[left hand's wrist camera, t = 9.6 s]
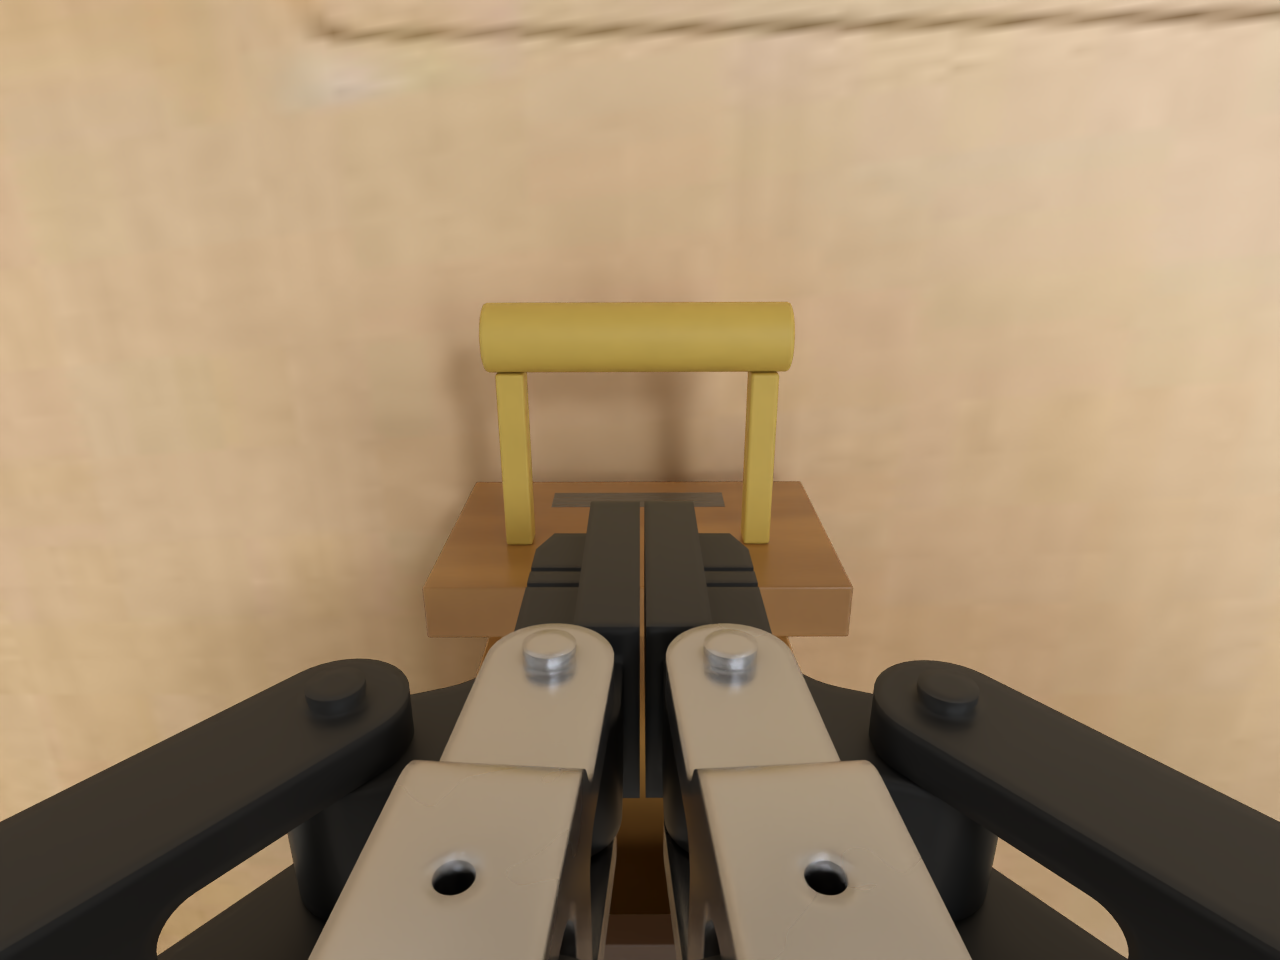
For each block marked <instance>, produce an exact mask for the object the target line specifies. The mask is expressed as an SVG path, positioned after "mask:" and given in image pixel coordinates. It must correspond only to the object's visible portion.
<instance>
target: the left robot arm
mask: <svg viewBox="0 0 1280 960" xmlns="http://www.w3.org/2000/svg"><path fill="white" fill-rule="evenodd" d="M644 680H645V795H646V798H663V810H664V841H663V856H664V865H665V873H666V881H667V888H668V896H669V904H670V912H671V920H672V927H673V935H674V943H675V951H676V958H677V960H1280V822H1279V821H1277V820H1275V819H1273V818H1271V817H1269V816H1267V815H1265V814H1263V813H1261V812H1258V811H1256V810H1254V809H1252V808H1250V807H1248V806H1246V805H1244V804H1242V803H1240V802H1238V801H1236V800H1234V799H1232V798H1230V797H1228V796H1226V795H1224V794H1222V793H1220V792H1218V791H1216V790H1214V789H1212V788H1210V787H1208V786H1206V785H1204V784H1202V783H1200V782H1198V781H1196V780H1194V779H1192V778H1190V777H1188V776H1186V775H1184V774H1182V773H1180V772H1178V771H1176V770H1174V769H1172V768H1170V767H1168V766H1166V765H1164V764H1162V763H1160V762H1158V761H1156V760H1154V759H1152V758H1150V757H1148V756H1146V755H1144V754H1142V753H1140V752H1138V751H1136V750H1134V749H1132V748H1130V747H1128V746H1126V745H1124V744H1122V743H1120V742H1118V741H1116V740H1114V739H1112V738H1110V737H1108V736H1106V735H1104V734H1102V733H1100V732H1098V731H1096V730H1094V729H1092V728H1090V727H1088V726H1086V725H1084V724H1082V723H1080V722H1078V721H1076V720H1074V719H1072V718H1070V717H1068V716H1066V715H1064V714H1062V713H1060V712H1058V711H1056V710H1054V709H1052V708H1050V707H1048V706H1046V705H1044V704H1042V703H1040V702H1038V701H1036V700H1034V699H1032V698H1030V697H1028V696H1026V695H1024V694H1022V693H1020V692H1018V691H1016V690H1014V689H1012V688H1010V687H1008V686H1006V685H1004V684H1002V683H1000V682H998V681H996V680H994V679H992V678H990V677H988V676H986V675H984V674H981V673H979V672H977V671H975V670H972V669H969V668H966V667H963V666H960V665H956V664H952V663H947V662H940V661H929V660H920V661H909V662H903V663H900V664H896V665H894V666H891V667H889V668H887V669H886V670H885V671H883V672H882V673H881V674H880V675H879V676H878V678H877V679H876V682H875V684H874V692H873V694H870V693H865V692H861V691H856V690H851V689H846V688H841V687H837V686H832V685H828V684H825V683H822V682H820V681H817V680H814V679H812V678H810V677H808V676H806V675H804V674H802V673H801V670H800V668H799V666H798V664H797V661H796V659H795V657H794V655H793V653H792V651H791V650H790V648H789V647H788V646H787V645H786V644H785V643H784V642H783V641H782V640H780V639H779V638H778V637H776V636H774V635H772V632H771V628H770V625H769V621H768V618H767V614H766V610H765V607H764V603H763V599H762V596H761V592H760V589H759V587H758V581H757V578H756V574H755V571H754V567H753V563H752V560H751V556H750V553H749V549H748V548H747V547H745V546H744V545H743V544H742V543H741V542H740V541H738V540H737V539H736V538H735V537H734V536H732V535H731V534H730V533H698V528H697V521H696V515H695V508H694V502H693V501H644ZM623 798H640V501H591V504H590V511H589V518H588V525H587V532H586V533H554V534H553V535H552V536H551V537H550V538H549V539H547V540H546V541H545V542H544V543H543V544H541V545H540V546H539V547H538V548H537V549H536V551H535V555H534V558H533V562H532V566H531V571H530V573H529V577H528V581H527V587H526V589H525V592H524V596H523V600H522V604H521V607H520V611H519V615H518V619H517V622H516V626H515V630H514V632H512V633H510V634H508V635H506V636H504V637H502V638H501V639H500V640H498V641H497V642H496V643H495V644H494V645H493V646H492V647H491V648H490V650H489V651H488V653H487V655H486V657H485V659H484V661H483V664H482V666H481V668H480V670H479V673H478V675H477V677H476V678H474V679H472V680H470V681H467V682H464V683H461V684H458V685H455V686H451V687H447V688H442V689H437V690H432V691H427V692H422V693H417V694H412V695H410V690H409V682H408V680H407V678H406V676H405V675H404V673H403V672H402V671H401V670H399V669H398V668H397V667H395V666H393V665H391V664H389V663H386V662H382V661H378V660H371V659H346V660H339V661H333V662H329V663H325V664H321V665H318V666H315V667H312V668H310V669H307V670H305V671H303V672H300V673H298V674H296V675H294V676H292V677H290V678H288V679H286V680H284V681H282V682H280V683H278V684H276V685H274V686H272V687H270V688H268V689H266V690H264V691H262V692H260V693H258V694H256V695H254V696H252V697H250V698H248V699H246V700H244V701H242V702H240V703H238V704H236V705H234V706H232V707H230V708H228V709H226V710H224V711H222V712H220V713H218V714H216V715H214V716H212V717H210V718H208V719H206V720H204V721H202V722H200V723H198V724H196V725H194V726H192V727H190V728H188V729H186V730H184V731H182V732H180V733H178V734H176V735H174V736H172V737H170V738H168V739H166V740H164V741H162V742H160V743H158V744H156V745H154V746H152V747H150V748H148V749H146V750H144V751H142V752H140V753H138V754H136V755H134V756H132V757H130V758H128V759H126V760H124V761H122V762H120V763H118V764H116V765H114V766H112V767H110V768H108V769H106V770H104V771H102V772H100V773H98V774H96V775H94V776H92V777H90V778H88V779H86V780H84V781H82V782H80V783H78V784H76V785H74V786H72V787H70V788H68V789H66V790H64V791H62V792H60V793H58V794H56V795H54V796H52V797H50V798H48V799H46V800H44V801H42V802H40V803H38V804H36V805H34V806H32V807H30V808H28V809H26V810H24V811H22V812H20V813H18V814H16V815H14V816H12V817H9V818H7V819H5V820H3V821H1V822H0V960H603V958H604V951H605V943H606V935H607V927H608V920H609V912H610V904H611V896H612V888H613V881H614V873H615V865H616V856H617V841H616V835H617V833H618V831H619V828H620V826H621V821H622V803H623ZM287 833H288V838H289V843H290V848H291V853H292V858H293V863H294V864H292V865H291V866H289V867H288V868H286V869H285V870H283V871H282V872H280V873H279V874H277V875H276V876H274V877H273V878H272V879H270V880H269V881H267V882H266V883H264V884H263V885H261V886H260V887H258V888H257V889H255V890H254V891H252V892H251V893H249V894H248V895H246V896H245V897H244V898H242V899H241V900H239V901H238V902H236V903H235V904H233V905H232V906H230V907H229V908H227V909H226V910H224V911H223V912H221V913H220V914H219V915H217V916H216V917H214V918H213V919H211V920H210V921H208V922H207V923H205V924H204V925H202V926H201V927H199V928H198V929H196V930H195V931H194V932H192V933H191V934H189V935H188V936H186V937H185V938H183V939H182V940H180V941H179V942H177V943H176V944H174V945H173V946H171V947H170V948H168V949H167V950H166V951H164V952H163V953H161V954H159V955H158V956H157V953H156V949H157V942H158V938H159V935H160V933H161V930H162V928H163V926H164V925H165V923H166V921H167V920H168V918H169V917H170V916H171V914H172V913H173V912H174V911H175V910H176V909H177V908H178V906H179V905H180V904H182V903H183V902H184V901H185V900H186V899H187V898H189V897H190V896H191V895H193V894H194V893H195V892H197V891H199V890H200V889H202V888H203V887H205V886H206V885H208V884H209V883H211V882H213V881H214V880H216V879H217V878H219V877H220V876H222V875H223V874H225V873H226V872H228V871H230V870H231V869H233V868H234V867H236V866H237V865H239V864H240V863H242V862H243V861H245V860H247V859H248V858H250V857H251V856H253V855H254V854H256V853H257V852H259V851H260V850H262V849H264V848H265V847H267V846H268V845H270V844H271V843H273V842H274V841H276V840H277V839H279V838H281V837H282V836H284V835H285V834H287ZM998 837H999V838H1001V839H1003V840H1004V841H1006V842H1007V843H1009V844H1010V845H1012V846H1013V847H1015V848H1016V849H1018V850H1020V851H1021V852H1023V853H1024V854H1026V855H1027V856H1029V857H1030V858H1032V859H1033V860H1035V861H1037V862H1038V863H1040V864H1041V865H1043V866H1044V867H1046V868H1047V869H1049V870H1051V871H1052V872H1054V873H1055V874H1057V875H1058V876H1060V877H1061V878H1063V879H1064V880H1066V881H1068V882H1069V883H1071V884H1072V885H1074V886H1075V887H1077V888H1078V889H1080V890H1081V891H1083V892H1085V893H1086V894H1088V895H1089V896H1091V897H1092V898H1093V899H1095V900H1096V901H1098V902H1099V903H1100V904H1101V905H1102V906H1103V907H1104V908H1105V909H1106V910H1107V911H1108V912H1109V913H1110V914H1111V915H1112V916H1113V918H1114V919H1115V920H1116V922H1117V923H1118V924H1119V926H1120V928H1121V930H1122V931H1123V933H1124V936H1125V938H1126V941H1127V945H1128V950H1129V957H1128V959H1127V958H1125V957H1124V956H1122V955H1120V954H1119V953H1117V952H1116V951H1114V950H1113V949H1112V948H1110V947H1109V946H1107V945H1106V944H1104V943H1103V942H1101V941H1100V940H1098V939H1097V938H1095V937H1094V936H1092V935H1091V934H1089V933H1088V932H1087V931H1085V930H1084V929H1082V928H1081V927H1079V926H1078V925H1076V924H1075V923H1073V922H1072V921H1070V920H1069V919H1067V918H1066V917H1064V916H1063V915H1061V914H1060V913H1059V912H1057V911H1056V910H1054V909H1053V908H1051V907H1050V906H1048V905H1047V904H1045V903H1044V902H1042V901H1041V900H1039V899H1038V898H1036V897H1035V896H1034V895H1032V894H1031V893H1029V892H1028V891H1026V890H1025V889H1023V888H1022V887H1020V886H1019V885H1017V884H1016V883H1014V882H1013V881H1011V880H1010V879H1008V878H1007V877H1006V876H1004V875H1003V874H1001V873H1000V872H998V871H997V870H995V869H994V868H992V865H993V860H994V855H995V850H996V845H997V840H998Z"/></svg>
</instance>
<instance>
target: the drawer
mask: <svg viewBox="0 0 1280 960" xmlns="http://www.w3.org/2000/svg"><path fill="white" fill-rule="evenodd" d="M794 342H795V322H794V313H793V309H792V306H791V304H790V303H788V302H614V303H486V304H484V305H483V307H482V310H481V314H480V322H479V343H480V353H481V359H482V363H483V366H484V368H485V370H486V371H487V372H497V374H496V376H495V381H496V395H497V410H498V425H499V439H500V454H501V468H502V482H477V483H476V484H475V486H474V488H473V490H472V492H471V494H470V496H469V498H468V500H467V502H466V504H465V506H464V508H463V510H462V512H461V514H460V516H459V518H458V520H457V522H456V524H455V526H454V528H453V529H452V531H451V533H450V535H449V537H448V539H447V541H446V543H445V545H444V547H443V549H442V551H441V553H440V555H439V557H438V559H437V561H436V563H435V565H434V567H433V569H432V571H431V573H430V575H429V577H428V579H427V581H426V583H425V585H424V587H423V598H424V606H425V615H426V624H427V633H428V637H489V638H488V641H487V644H486V647H485V650H484V654H483V657H482V660H481V663H480V666H479V669H478V672H477V675H478V673H479V670H480V668H481V666H482V664H483V661H484V659H485V657H486V655H487V653H488V651H489V650H490V648H491V647H492V646H493V645H494V644H495V643H496V642H497V641H498V640H500V639H501V638H502V637H504V636H506V635H508V634H510V633H512V632H514V630H515V626H516V622H517V619H518V615H519V611H520V607H521V604H522V600H523V596H524V592H525V589H526V587H527V581H528V577H529V573H530V571H531V566H532V562H533V558H534V555H535V551H536V549H537V548H538V547H539V546H540V545H541V544H543V543H544V542H545V541H546V540H547V539H549V538H550V537H551V536H552V535H553V534H554V533H586V532H587V525H588V518H589V511H590V504H591V501H640V798H623V803H622V821H621V826H620V828H619V831H618V833H617V835H616V841H617V856H616V865H615V873H614V881H613V888H612V896H611V904H610V912H609V914H671V912H670V904H669V896H668V888H667V881H666V873H665V865H664V856H663V841H664V810H663V798H646V795H645V680H644V501H693V502H694V508H695V515H696V521H697V528H698V533H730V534H731V535H732V536H734V537H735V538H736V539H737V540H738V541H740V542H741V543H742V544H743V545H744V546H745V547H747V548H748V549H749V553H750V556H751V560H752V563H753V567H754V571H755V574H756V578H757V581H758V587H759V589H760V592H761V596H762V599H763V603H764V607H765V610H766V614H767V618H768V621H769V625H770V628H771V632H772V635H774V636H776V637H778V638H779V639H780V640H782V641H783V642H784V643H785V644H786V645H787V646H788V647H789V648H790V650H791V651H792V648H791V645H790V642H789V639H788V636H848V632H849V622H850V613H851V603H852V593H853V586H852V584H851V582H850V580H849V578H848V576H847V574H846V572H845V570H844V568H843V566H842V564H841V562H840V560H839V558H838V556H837V554H836V552H835V550H834V548H833V546H832V544H831V542H830V540H829V538H828V536H827V534H826V532H825V530H824V528H823V526H822V524H821V522H820V520H819V518H818V516H817V514H816V512H815V510H814V508H813V506H812V504H811V502H810V500H809V498H808V496H807V494H806V492H805V490H804V488H803V486H802V484H801V482H799V481H783V482H773V470H774V453H775V436H776V420H777V403H778V386H779V375H778V373H777V371H787V370H789V368H790V366H791V363H792V359H793V353H794ZM527 372H748V384H747V407H746V429H745V451H744V473H743V482H533V481H532V462H531V444H530V425H529V407H528V389H527ZM792 653H793V652H792ZM476 677H477V676H476Z"/></svg>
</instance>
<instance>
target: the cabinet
mask: <svg viewBox="0 0 1280 960" xmlns="http://www.w3.org/2000/svg"><path fill="white" fill-rule="evenodd" d="M603 960H677V958H676V951H675V943H674V935H673V927H672V920H671V914H609V920H608V927H607V935H606V943H605V951H604V958H603Z"/></svg>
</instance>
